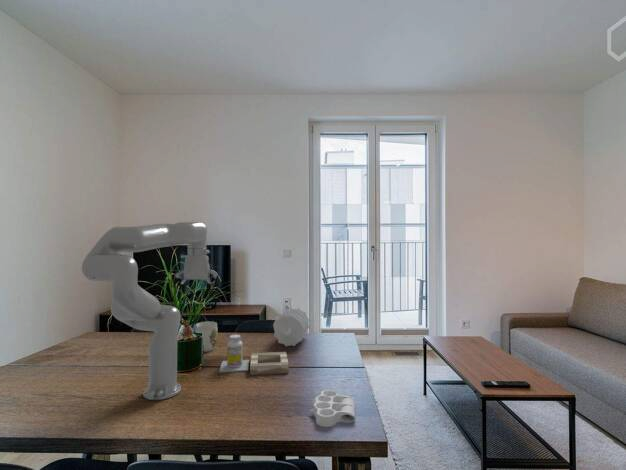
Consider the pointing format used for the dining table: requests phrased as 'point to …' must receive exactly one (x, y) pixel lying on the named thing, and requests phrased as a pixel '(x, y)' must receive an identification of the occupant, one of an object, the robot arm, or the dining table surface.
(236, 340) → the supplement bottle
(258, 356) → the cup holder
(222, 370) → the grey mat
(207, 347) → the pitcher
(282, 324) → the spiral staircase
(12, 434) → the dining table surface
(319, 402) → the white scalloped holder tray
